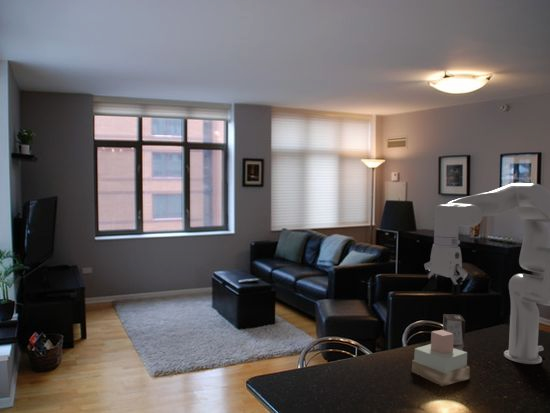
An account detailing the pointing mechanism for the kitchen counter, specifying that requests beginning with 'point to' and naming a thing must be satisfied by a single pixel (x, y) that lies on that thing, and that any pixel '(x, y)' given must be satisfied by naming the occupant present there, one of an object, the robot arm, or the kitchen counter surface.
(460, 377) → the tower base
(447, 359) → the tower top
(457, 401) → the kitchen counter surface
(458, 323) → the coffee box
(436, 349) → the pink block
